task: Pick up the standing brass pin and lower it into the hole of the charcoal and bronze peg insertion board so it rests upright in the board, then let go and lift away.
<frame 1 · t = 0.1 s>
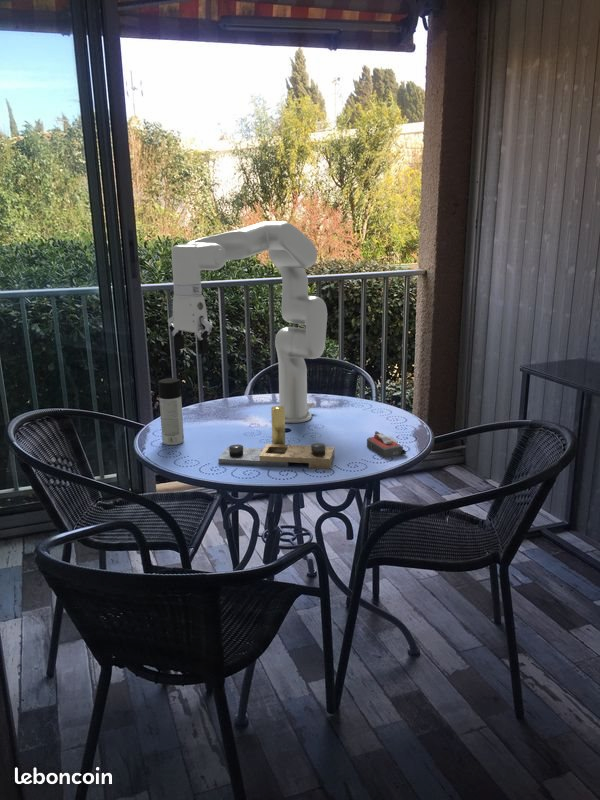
hand: (191, 351, 189), 31 cm above the table, tool pointing down, fingers open, 9 cm apart
spray can: (173, 442, 208), on the table
pin: (278, 445, 204), on the table
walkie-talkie: (382, 448, 202), on the table
peg insertion board: (277, 460, 192), on the table
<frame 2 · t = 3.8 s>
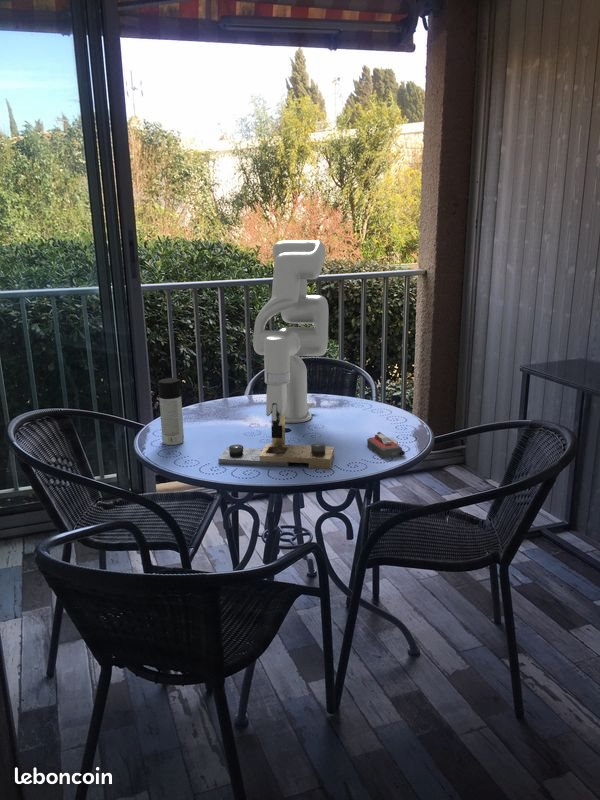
hand: (278, 434, 203), 3 cm above the table, tool pointing down, fingers closed on pin, 4 cm apart
pin: (278, 445, 204), on the table, touching gripper
everything else where it was.
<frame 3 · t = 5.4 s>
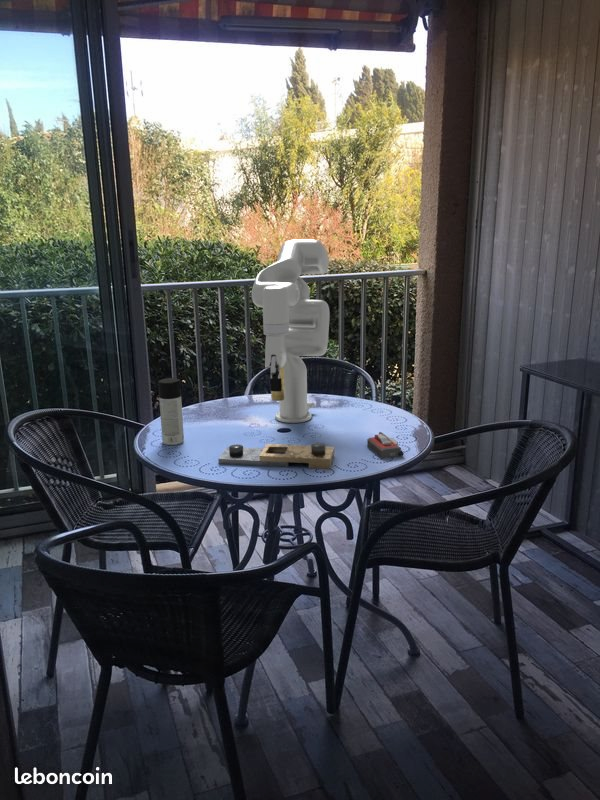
hand: (277, 388, 200), 18 cm above the table, tool pointing down, fingers closed on pin, 4 cm apart
pin: (278, 398, 201), point 15 cm above the table, touching gripper
everything else where it was.
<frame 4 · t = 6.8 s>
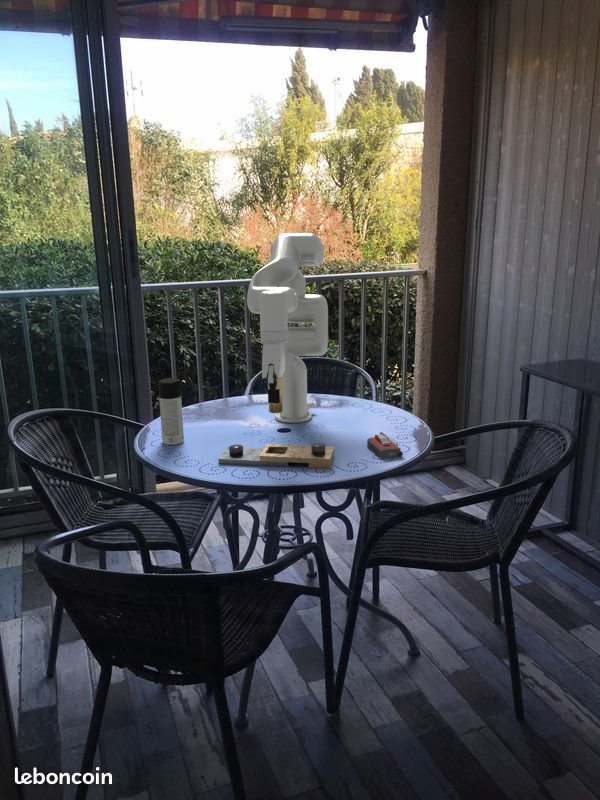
hand: (275, 399, 187), 18 cm above the table, tool pointing down, fingers closed on pin, 4 cm apart
pin: (275, 411, 188), point 15 cm above the table, touching gripper
everything else where it was.
when the fingers open (4 cm above the table, at t = 9.1 s): pin stays where it is, resting in peg insertion board.
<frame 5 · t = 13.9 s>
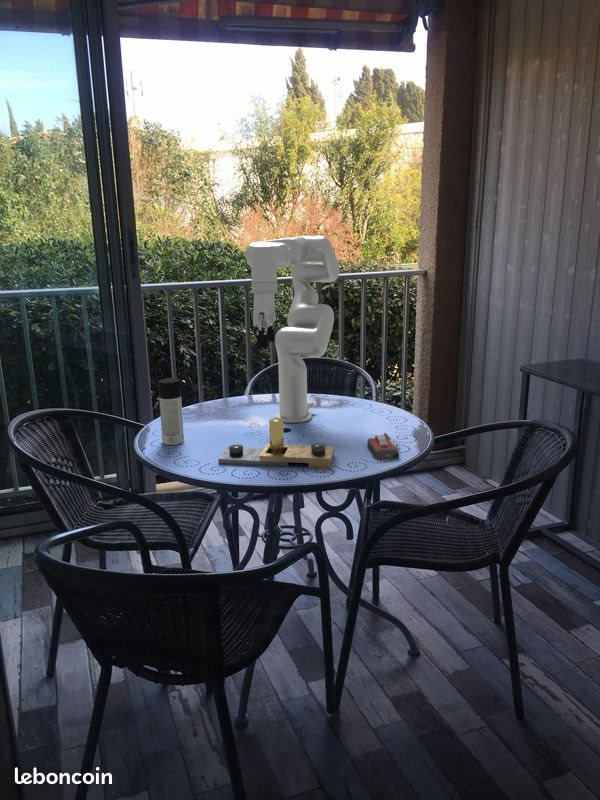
hand: (266, 344, 201), 30 cm above the table, tool pointing down, fingers open, 9 cm apart
pin: (277, 460, 192), resting in peg insertion board
at the end: pin 0.1 cm off-centre on the peg insertion board, point 0.0 cm above the peg insertion board's base; pin tilted 0°; the gripper is holding nothing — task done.
